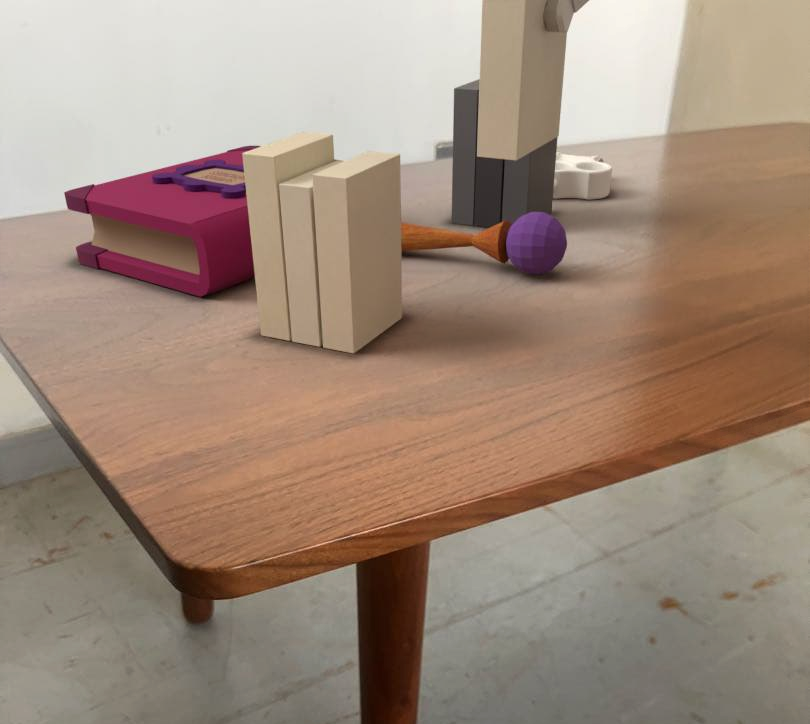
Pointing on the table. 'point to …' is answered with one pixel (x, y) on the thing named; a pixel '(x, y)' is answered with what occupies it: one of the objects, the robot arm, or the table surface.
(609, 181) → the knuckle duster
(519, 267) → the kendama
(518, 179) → the grey books
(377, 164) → the cream books
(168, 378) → the table surface
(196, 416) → the table surface
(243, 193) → the book
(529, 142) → the cream book
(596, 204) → the table surface
